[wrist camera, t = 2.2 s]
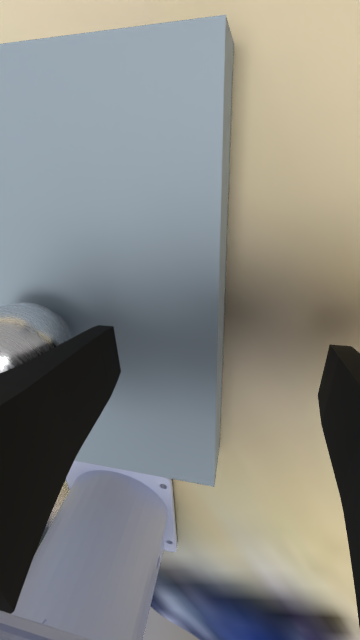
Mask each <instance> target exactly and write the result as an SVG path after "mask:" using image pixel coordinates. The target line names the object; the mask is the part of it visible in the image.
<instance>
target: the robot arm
mask: <svg viewBox="0 0 360 640" xmlns="http://www.w3.org/2000/svg"><path fill="white" fill-rule="evenodd" d="M120 373H121V368H120V362H119V356H118V350H117V344H116V338H115V332H114V326H103V325H97V326H95V327H92V328H90V329H88V330H86V331H84V332H82V333H80V334H78V335H76V336H75V337H73V338H71V339H69V340H67V341H65V342H63V343H62V344H60V345H58V346H56V347H54V348H52V349H50V350H49V351H47V352H45V353H43V354H41V355H39V356H37V357H34V358H32V359H30V360H28V361H26V362H24V363H22V364H20V365H18V366H16V367H14V368H12V369H9V370H7V371H5V372H2V373H0V640H142V639H143V635H144V631H145V626H146V622H147V618H148V614H149V609H150V605H151V601H152V597H153V593H154V588H155V584H156V580H157V576H158V572H159V567H160V563H161V559H162V555H163V550H165V551H169V552H175V551H176V550H177V534H176V522H175V510H174V499H173V487H172V479H170V478H165V477H160V476H154V475H149V474H144V473H138V472H133V471H127V470H122V469H117V468H111V467H106V466H101V465H95V464H90V463H85V462H79V461H74V460H75V458H76V456H77V454H78V452H79V450H80V449H81V447H82V445H83V443H84V442H85V440H86V438H87V437H88V435H89V433H90V432H91V430H92V428H93V426H94V425H95V423H96V421H97V420H98V418H99V416H100V415H101V413H102V411H103V409H104V408H105V406H106V404H107V402H108V401H109V399H110V397H111V395H112V393H113V391H114V388H115V386H116V384H117V381H118V378H119V376H120ZM318 399H319V408H320V416H321V424H322V428H323V432H324V436H325V440H326V444H327V447H328V451H329V455H330V459H331V463H332V466H333V470H334V474H335V478H336V482H337V485H338V489H339V493H340V497H341V502H342V507H343V512H344V518H345V524H346V530H347V537H348V543H349V550H350V557H351V564H352V571H353V578H354V585H355V593H356V601H357V609H358V617H359V626H360V353H358V352H357V351H356V350H355V349H354V348H353V347H351V346H339V345H330V346H329V350H328V355H327V359H326V363H325V367H324V371H323V376H322V380H321V384H320V388H319V393H318ZM65 479H66V482H67V484H68V487H69V490H70V491H69V493H68V495H67V496H66V498H65V500H64V502H63V504H62V506H61V507H60V509H59V511H58V513H57V515H56V517H55V518H54V520H53V522H52V524H51V526H50V528H49V530H48V531H47V533H46V535H45V537H44V539H43V541H42V542H41V544H40V546H39V548H38V550H37V552H36V549H37V547H38V544H39V541H40V539H41V536H42V534H43V531H44V529H45V526H46V524H47V521H48V519H49V516H50V514H51V512H52V509H53V507H54V504H55V502H56V500H57V497H58V495H59V493H60V490H61V488H62V486H63V484H64V482H65ZM35 552H36V553H35ZM34 554H35V555H34Z"/></svg>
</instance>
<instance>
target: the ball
mask: <svg viewBox="0 0 360 640" xmlns="http://www.w3.org/2000/svg"><path fill="white" fill-rule="evenodd" d="M71 338H73V336H72V333H71V331H70V329H69V327H68V325H67V324H66V322H65V321H64V320H63V319H62V318H61V317H60V316H59V315H58V314H57V313H56V312H54V311H53V310H51V309H49V308H47V307H45V306H42V305H39V304H35V303H28V302H18V303H12V304H7V305H4V306H1V307H0V373H2V372H5V371H7V370H9V369H12V368H14V367H16V366H18V365H20V364H22V363H24V362H26V361H28V360H30V359H32V358H34V357H37V356H39V355H41V354H43V353H45V352H47V351H49V350H50V349H52V348H54V347H56V346H58V345H60V344H62V343H63V342H65V341H67V340H69V339H71Z"/></svg>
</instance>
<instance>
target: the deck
mask: <svg viewBox="0 0 360 640" xmlns="http://www.w3.org/2000/svg"><path fill="white" fill-rule="evenodd" d="M233 46H234V43H233V39H232V36H231V32H230V28H229V25H228V21H227V18H226V15H221V16H213V17H205V18H197V19H190V20H182V21H174V22H166V23H159V24H151V25H143V26H135V27H128V28H120V29H112V30H105V31H97V32H89V33H81V34H74V35H66V36H58V37H50V38H43V39H35V40H27V41H19V42H12V43H4V44H0V307H1V306H4V305H7V304H12V303H18V302H28V303H35V304H39V305H42V306H45V307H47V308H49V309H51V310H53V311H54V312H56V313H57V314H58V315H59V316H60V317H61V318H62V319H63V320H64V321H65V322H66V324H67V325H68V327H69V329H70V331H71V333H72V336H73V337H75V336H76V335H78V334H80V333H82V332H84V331H86V330H88V329H90V328H92V327H95V326H97V325H103V326H114V332H115V338H116V344H117V350H118V356H119V362H120V368H121V373H120V376H119V378H118V381H117V384H116V386H115V388H114V391H113V393H112V395H111V397H110V399H109V401H108V402H107V404H106V406H105V408H104V409H103V411H102V413H101V415H100V416H99V418H98V420H97V421H96V423H95V425H94V426H93V428H92V430H91V432H90V433H89V435H88V437H87V438H86V440H85V442H84V443H83V445H82V447H81V449H80V450H79V452H78V454H77V456H76V458H75V460H74V461H79V462H85V463H90V464H95V465H101V466H106V467H111V468H117V469H122V470H127V471H133V472H138V473H144V474H149V475H154V476H160V477H165V478H170V479H176V480H181V481H187V482H192V483H197V484H203V485H208V486H213V487H214V485H215V477H216V470H217V462H218V455H219V447H220V421H221V392H222V363H223V334H224V306H225V277H226V248H227V219H228V190H229V161H230V133H231V104H232V75H233Z"/></svg>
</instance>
